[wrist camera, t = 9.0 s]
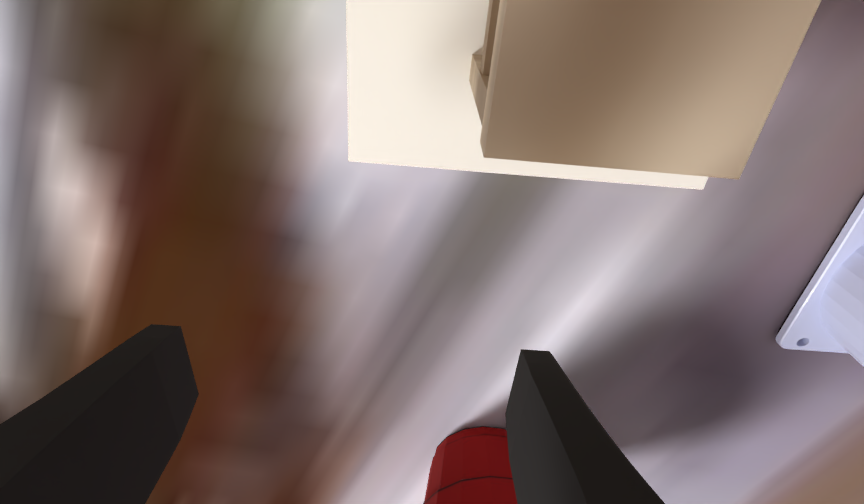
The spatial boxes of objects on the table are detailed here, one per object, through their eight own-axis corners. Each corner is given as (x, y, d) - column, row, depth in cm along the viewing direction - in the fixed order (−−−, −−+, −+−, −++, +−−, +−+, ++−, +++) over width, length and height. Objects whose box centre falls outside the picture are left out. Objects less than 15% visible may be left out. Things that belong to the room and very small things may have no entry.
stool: (678, -98, 13) (893, -158, 7) (621, 97, 15) (739, 179, 9) (489, -118, 12) (536, -198, 6) (465, 83, 15) (483, 157, 9)
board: (851, -214, 12) (876, -226, 11) (692, 181, 18) (702, 189, 17) (347, -270, 12) (341, -285, 11) (351, 153, 17) (348, 161, 17)
